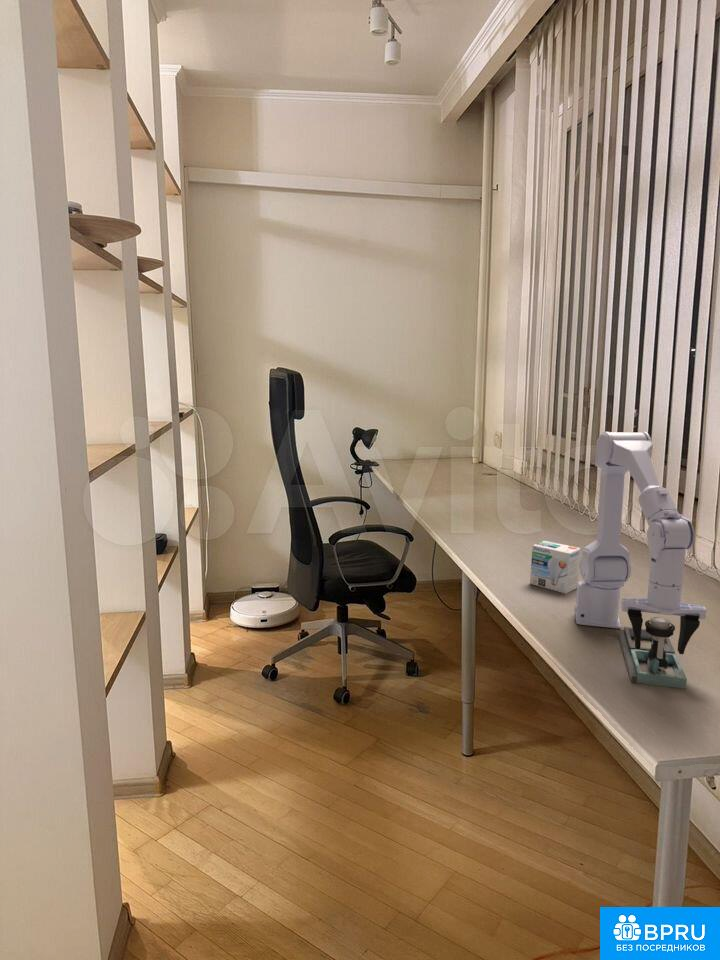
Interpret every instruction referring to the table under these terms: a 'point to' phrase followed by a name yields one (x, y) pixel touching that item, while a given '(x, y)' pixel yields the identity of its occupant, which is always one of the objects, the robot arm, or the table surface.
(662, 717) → the table surface
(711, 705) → the table surface
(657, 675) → the grey teal rectangular frame
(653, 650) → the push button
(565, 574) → the light bulb box
